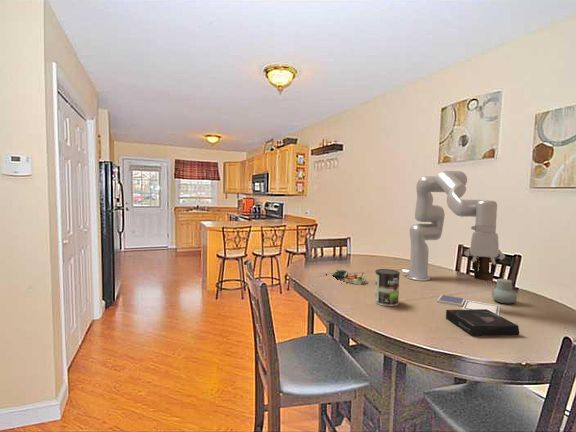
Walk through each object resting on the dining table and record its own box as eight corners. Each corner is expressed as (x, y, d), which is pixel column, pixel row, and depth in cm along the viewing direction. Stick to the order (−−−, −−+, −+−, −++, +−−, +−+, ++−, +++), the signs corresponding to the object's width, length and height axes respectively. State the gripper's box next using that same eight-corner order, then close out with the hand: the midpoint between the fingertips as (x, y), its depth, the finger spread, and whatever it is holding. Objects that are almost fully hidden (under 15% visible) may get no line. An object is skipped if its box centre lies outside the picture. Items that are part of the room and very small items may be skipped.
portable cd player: (519, 336, 116) (519, 325, 116) (471, 337, 115) (472, 326, 115) (487, 319, 133) (488, 309, 132) (445, 319, 131) (446, 309, 131)
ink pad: (437, 302, 151) (437, 299, 151) (441, 296, 160) (441, 294, 160) (462, 306, 146) (462, 303, 146) (465, 300, 154) (465, 298, 154)
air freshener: (517, 306, 147) (518, 284, 146) (495, 304, 150) (496, 282, 149) (510, 299, 157) (511, 278, 156) (490, 297, 160) (491, 276, 159)
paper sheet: (462, 309, 142) (462, 308, 142) (466, 300, 154) (466, 299, 154) (498, 316, 134) (498, 315, 134) (500, 306, 147) (500, 305, 147)
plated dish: (386, 288, 175) (386, 274, 175) (333, 290, 171) (333, 276, 171) (362, 273, 210) (362, 262, 209) (318, 275, 206) (318, 263, 206)
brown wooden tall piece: (490, 277, 145) (492, 236, 144) (494, 281, 139) (496, 238, 138) (473, 276, 147) (475, 235, 146) (476, 280, 141) (478, 237, 140)
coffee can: (403, 304, 148) (404, 272, 147) (386, 307, 143) (387, 274, 142) (386, 297, 157) (387, 267, 156) (369, 300, 152) (370, 269, 151)
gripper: (461, 229, 144) (459, 271, 145) (509, 232, 134) (507, 276, 135) (463, 227, 150) (461, 268, 151) (509, 230, 141) (507, 273, 142)
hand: (483, 271), depth 143 cm, fingers closed on brown wooden tall piece, 5 cm apart
